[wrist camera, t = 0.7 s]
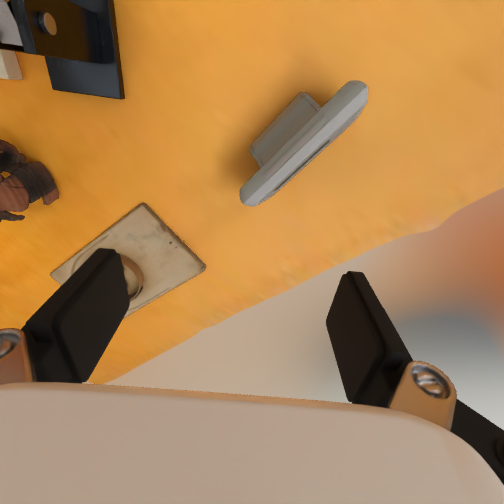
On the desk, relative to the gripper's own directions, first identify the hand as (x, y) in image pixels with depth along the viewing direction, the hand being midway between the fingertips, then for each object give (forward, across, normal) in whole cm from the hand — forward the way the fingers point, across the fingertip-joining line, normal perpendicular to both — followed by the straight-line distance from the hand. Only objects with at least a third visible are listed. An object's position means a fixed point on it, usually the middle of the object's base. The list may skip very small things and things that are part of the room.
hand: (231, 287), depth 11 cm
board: (+29, +20, +23) cm, 42 cm away
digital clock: (+29, -6, -1) cm, 30 cm away
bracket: (+29, +20, -10) cm, 36 cm away
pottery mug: (+29, +32, +7) cm, 44 cm away
